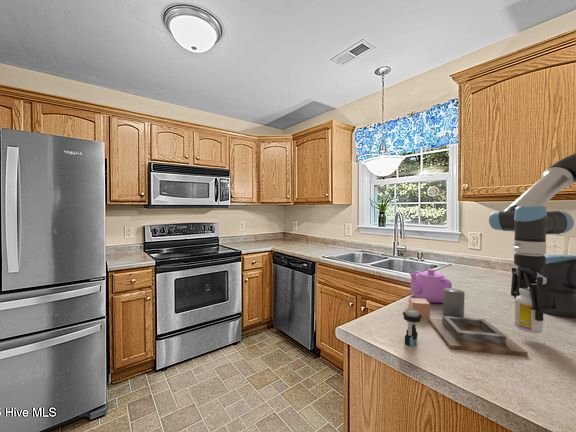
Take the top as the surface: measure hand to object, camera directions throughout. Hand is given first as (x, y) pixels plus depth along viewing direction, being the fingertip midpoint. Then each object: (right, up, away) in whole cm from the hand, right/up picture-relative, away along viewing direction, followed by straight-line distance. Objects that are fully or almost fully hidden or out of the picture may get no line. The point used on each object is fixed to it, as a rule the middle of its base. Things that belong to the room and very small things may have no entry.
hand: (528, 324), depth 86 cm
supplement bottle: (0, -2, 0) cm, 2 cm away
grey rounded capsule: (-13, -4, +18) cm, 23 cm away
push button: (-39, -5, -3) cm, 39 cm away
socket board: (-17, -4, +1) cm, 18 cm away
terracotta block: (-26, -4, +18) cm, 32 cm away
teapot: (-13, -4, +37) cm, 40 cm away
